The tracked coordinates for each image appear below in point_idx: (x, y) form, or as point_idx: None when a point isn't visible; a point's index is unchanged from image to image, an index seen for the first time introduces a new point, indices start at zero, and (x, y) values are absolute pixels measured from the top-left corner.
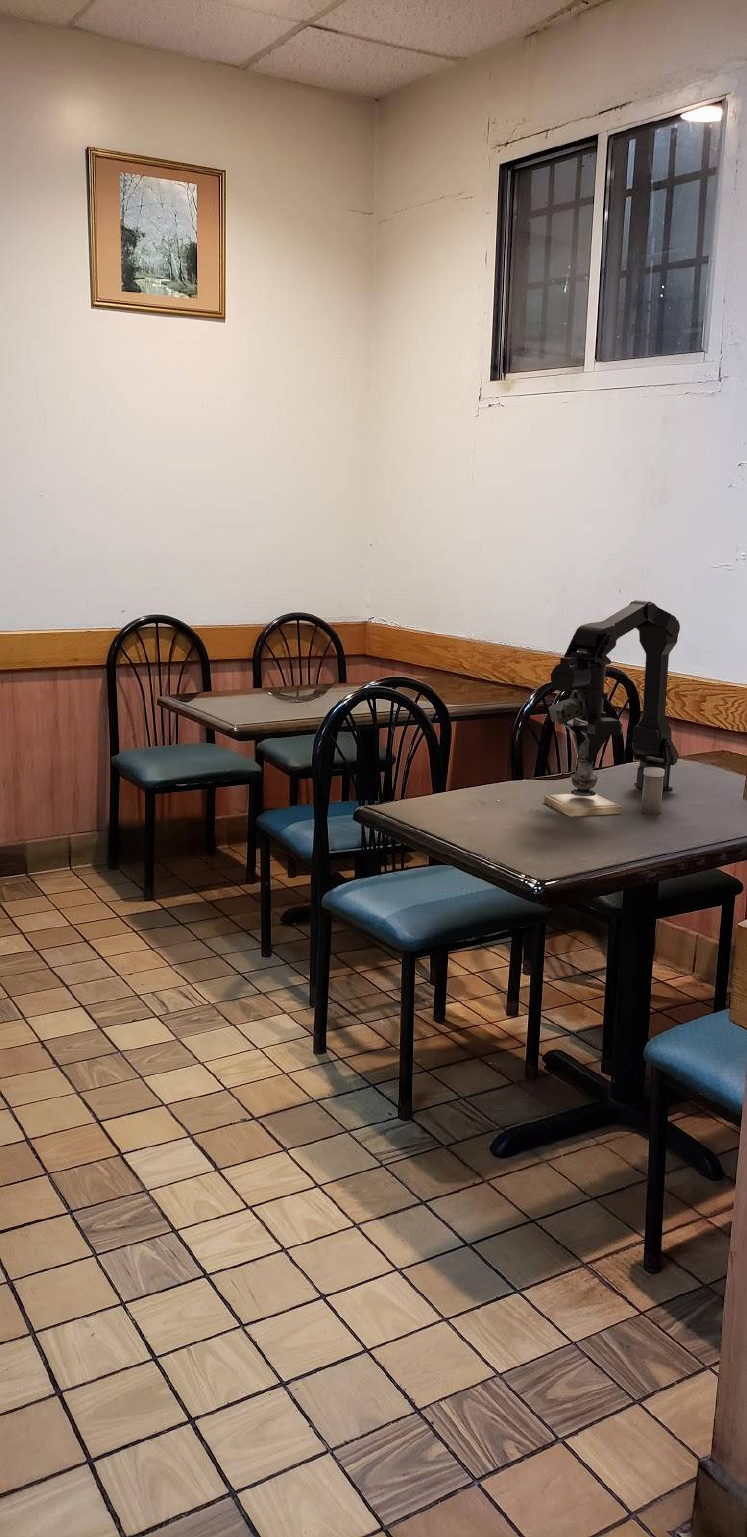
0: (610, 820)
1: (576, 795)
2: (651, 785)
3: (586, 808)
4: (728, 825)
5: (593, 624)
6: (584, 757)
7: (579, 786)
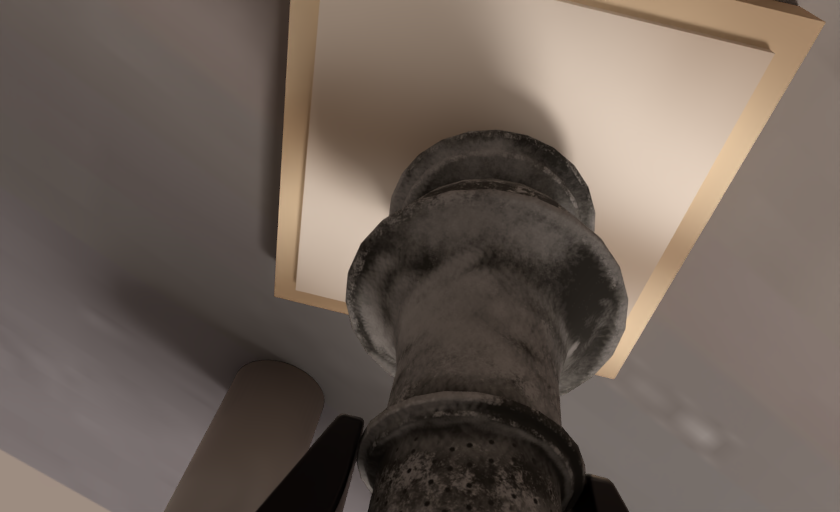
0: (162, 114)
1: (609, 238)
2: (176, 496)
3: (292, 64)
4: (35, 455)
5: None
6: (403, 460)
7: (440, 187)
